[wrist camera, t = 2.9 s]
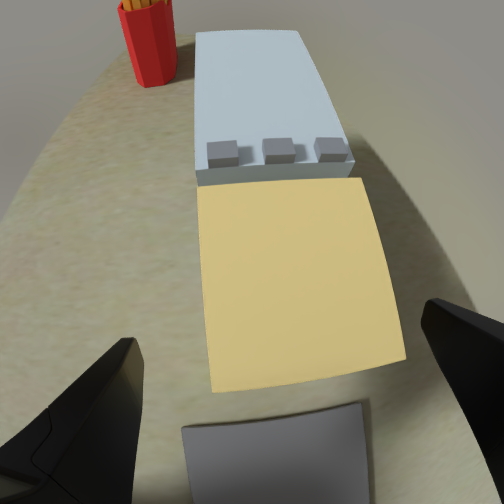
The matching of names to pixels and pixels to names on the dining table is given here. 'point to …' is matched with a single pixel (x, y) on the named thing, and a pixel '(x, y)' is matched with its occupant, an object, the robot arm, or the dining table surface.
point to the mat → (280, 460)
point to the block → (293, 283)
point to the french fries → (150, 39)
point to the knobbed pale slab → (263, 111)
